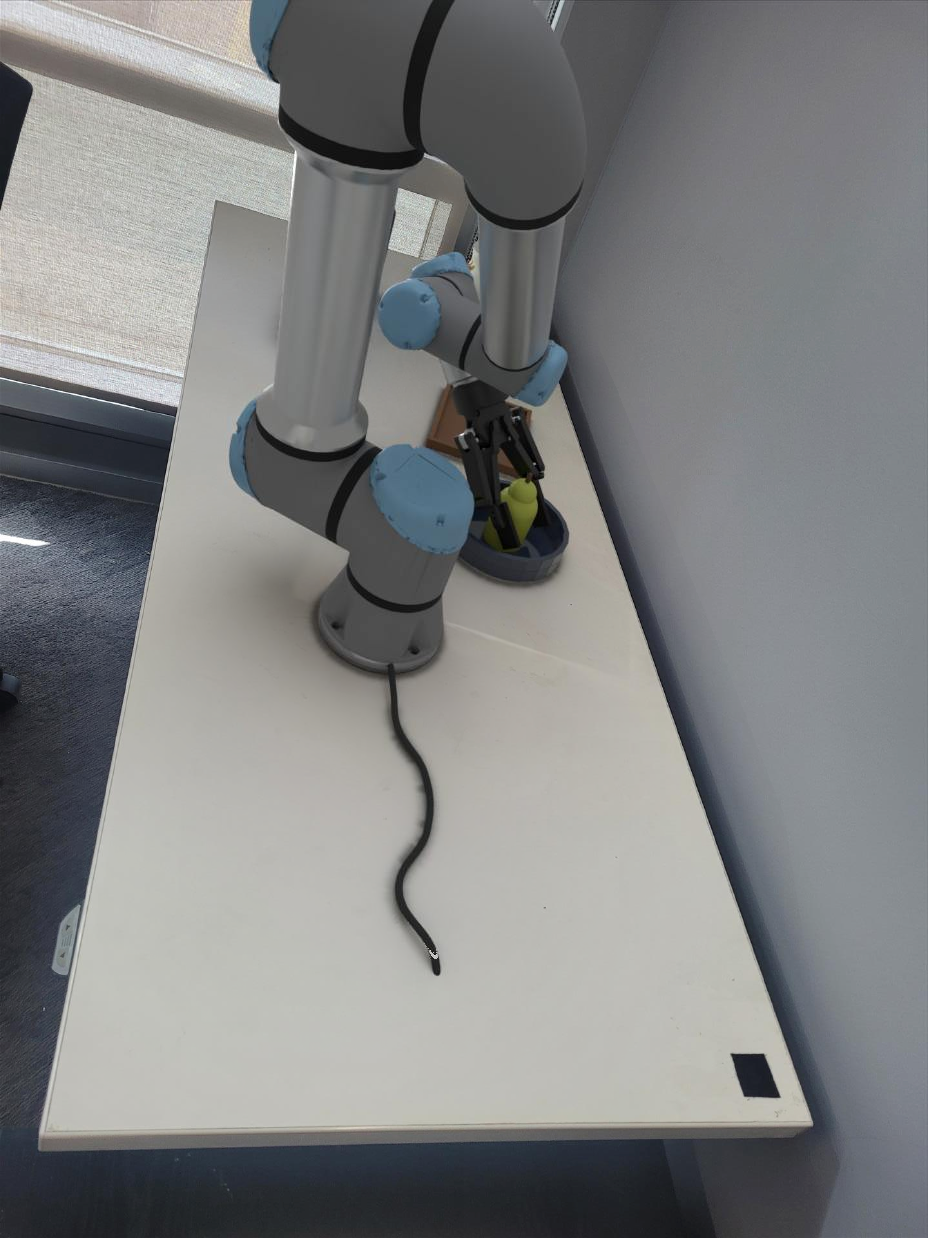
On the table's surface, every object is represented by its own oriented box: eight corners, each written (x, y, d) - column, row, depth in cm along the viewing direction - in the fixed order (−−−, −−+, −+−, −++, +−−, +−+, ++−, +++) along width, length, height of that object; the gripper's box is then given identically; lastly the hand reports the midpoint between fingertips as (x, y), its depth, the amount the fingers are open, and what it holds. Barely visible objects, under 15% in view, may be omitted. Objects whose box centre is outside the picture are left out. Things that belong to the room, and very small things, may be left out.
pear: (519, 557, 117) (550, 492, 109) (480, 544, 117) (507, 478, 108) (523, 532, 122) (553, 468, 113) (485, 519, 121) (512, 454, 113)
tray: (517, 481, 131) (521, 471, 130) (424, 449, 130) (428, 438, 128) (528, 420, 145) (532, 410, 144) (444, 390, 144) (448, 380, 142)
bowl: (553, 599, 114) (565, 577, 111) (433, 559, 112) (442, 535, 109) (561, 524, 127) (572, 502, 124) (453, 487, 125) (461, 464, 122)
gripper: (495, 367, 119) (543, 514, 126) (407, 405, 105) (466, 568, 112) (537, 353, 114) (584, 507, 121) (450, 391, 100) (509, 562, 107)
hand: (527, 536), depth 116 cm, fingers open, 8 cm apart
